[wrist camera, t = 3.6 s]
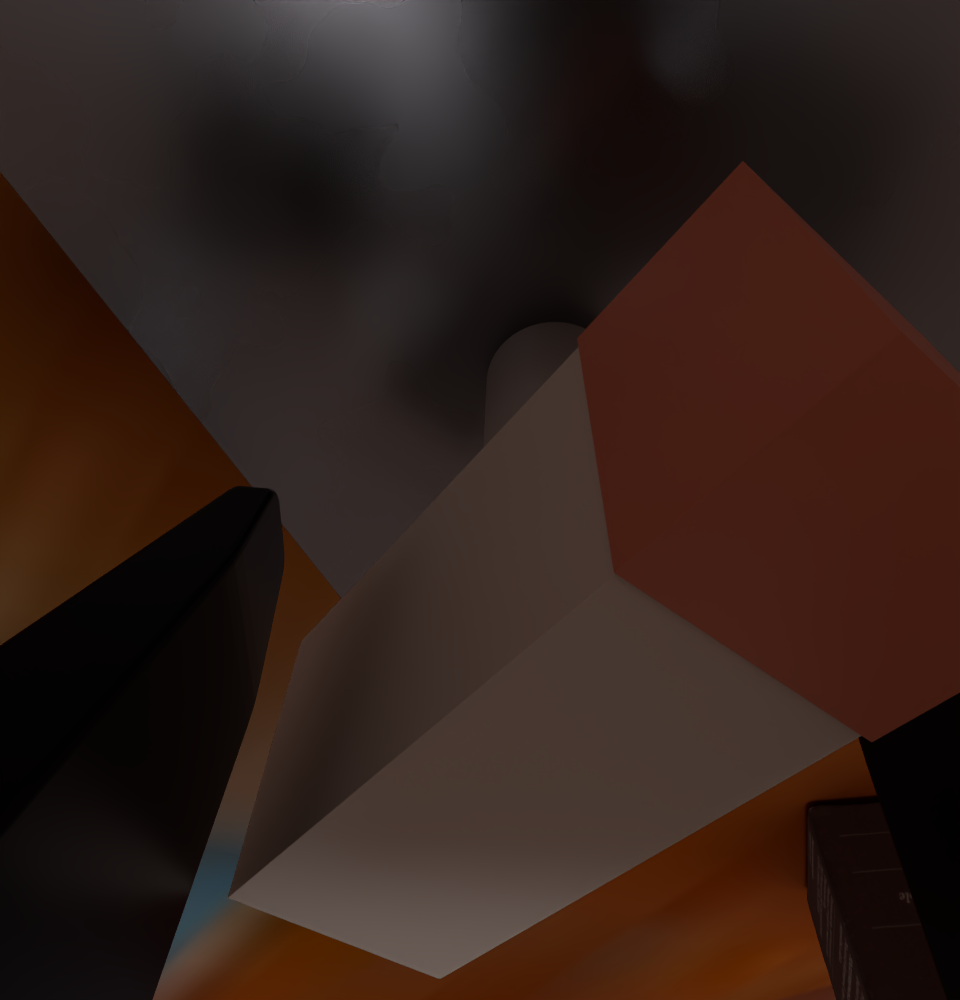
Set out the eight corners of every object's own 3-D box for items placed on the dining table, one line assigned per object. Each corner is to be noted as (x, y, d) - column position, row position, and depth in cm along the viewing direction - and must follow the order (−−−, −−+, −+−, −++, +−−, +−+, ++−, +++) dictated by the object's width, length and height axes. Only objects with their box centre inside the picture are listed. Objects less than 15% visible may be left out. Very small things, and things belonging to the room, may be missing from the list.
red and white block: (468, 575, 13) (443, 986, 8) (339, 496, 12) (222, 901, 7) (825, 235, 10) (1159, 579, 5) (681, 93, 9) (901, 332, 4)
